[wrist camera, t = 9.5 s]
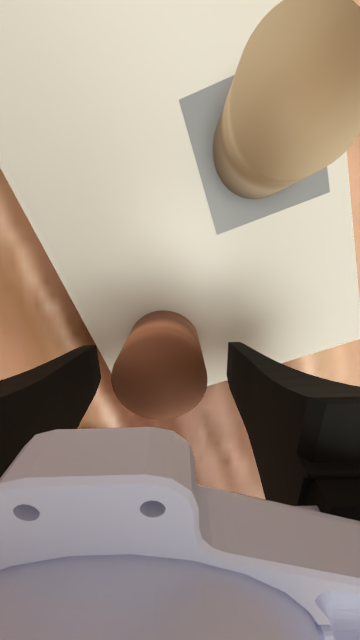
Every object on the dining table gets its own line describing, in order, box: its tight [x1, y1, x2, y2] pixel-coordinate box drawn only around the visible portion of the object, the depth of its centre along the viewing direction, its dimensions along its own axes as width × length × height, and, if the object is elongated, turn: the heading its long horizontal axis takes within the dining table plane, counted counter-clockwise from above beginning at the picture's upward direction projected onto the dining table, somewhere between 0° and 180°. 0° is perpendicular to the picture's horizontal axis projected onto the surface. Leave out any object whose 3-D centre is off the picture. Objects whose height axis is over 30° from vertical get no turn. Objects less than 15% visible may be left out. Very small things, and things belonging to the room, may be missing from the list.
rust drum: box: [111, 310, 207, 420], centre depth 12 cm, size 4×4×4 cm
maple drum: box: [213, 0, 360, 199], centre depth 9 cm, size 4×4×4 cm
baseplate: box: [0, 0, 360, 386], centre depth 12 cm, size 22×16×1 cm
